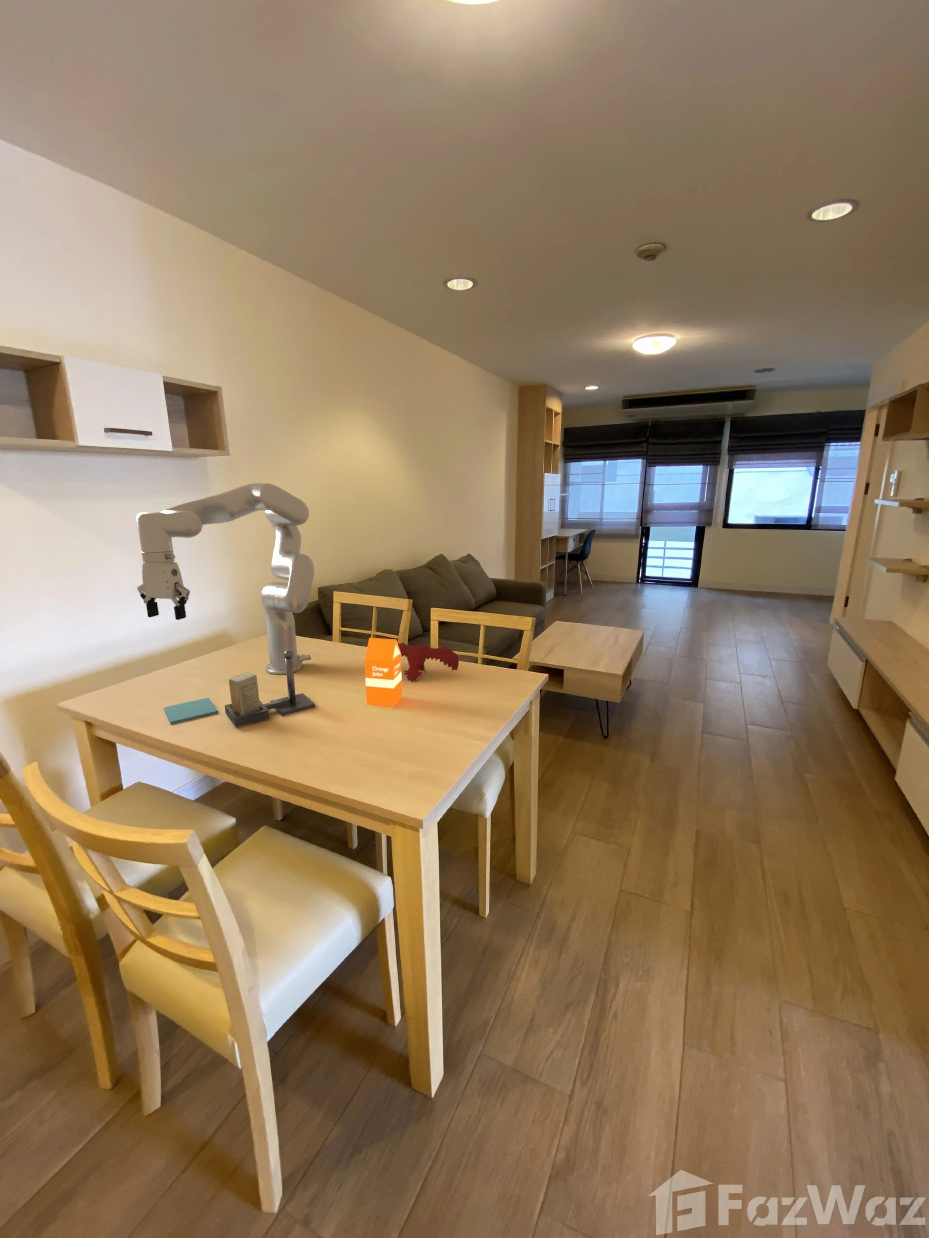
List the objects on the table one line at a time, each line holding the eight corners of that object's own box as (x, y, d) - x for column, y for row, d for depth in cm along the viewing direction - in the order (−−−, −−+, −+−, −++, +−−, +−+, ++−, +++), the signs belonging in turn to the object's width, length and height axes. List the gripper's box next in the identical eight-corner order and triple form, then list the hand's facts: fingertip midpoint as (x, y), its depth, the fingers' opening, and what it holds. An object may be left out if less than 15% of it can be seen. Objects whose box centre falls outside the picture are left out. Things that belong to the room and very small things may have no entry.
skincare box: (251, 711, 146) (248, 671, 143) (261, 714, 144) (257, 674, 141) (231, 719, 141) (227, 678, 138) (241, 722, 138) (237, 681, 135)
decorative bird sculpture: (455, 693, 171) (463, 653, 178) (448, 683, 164) (458, 642, 170) (380, 684, 179) (391, 646, 186) (370, 673, 171) (382, 635, 178)
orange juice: (394, 707, 150) (392, 643, 145) (366, 704, 152) (363, 641, 147) (402, 696, 157) (400, 636, 152) (375, 694, 159) (373, 634, 154)
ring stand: (302, 696, 157) (298, 642, 153) (315, 707, 149) (311, 651, 144) (225, 714, 144) (218, 656, 139) (235, 728, 135) (228, 667, 131)
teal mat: (208, 699, 154) (208, 697, 154) (218, 713, 145) (217, 710, 145) (164, 709, 147) (163, 707, 147) (170, 724, 138) (170, 721, 137)
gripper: (194, 557, 140) (202, 616, 144) (145, 554, 144) (154, 612, 148) (172, 560, 133) (181, 623, 137) (121, 558, 137) (131, 618, 141)
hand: (167, 617), depth 143 cm, fingers open, 9 cm apart
